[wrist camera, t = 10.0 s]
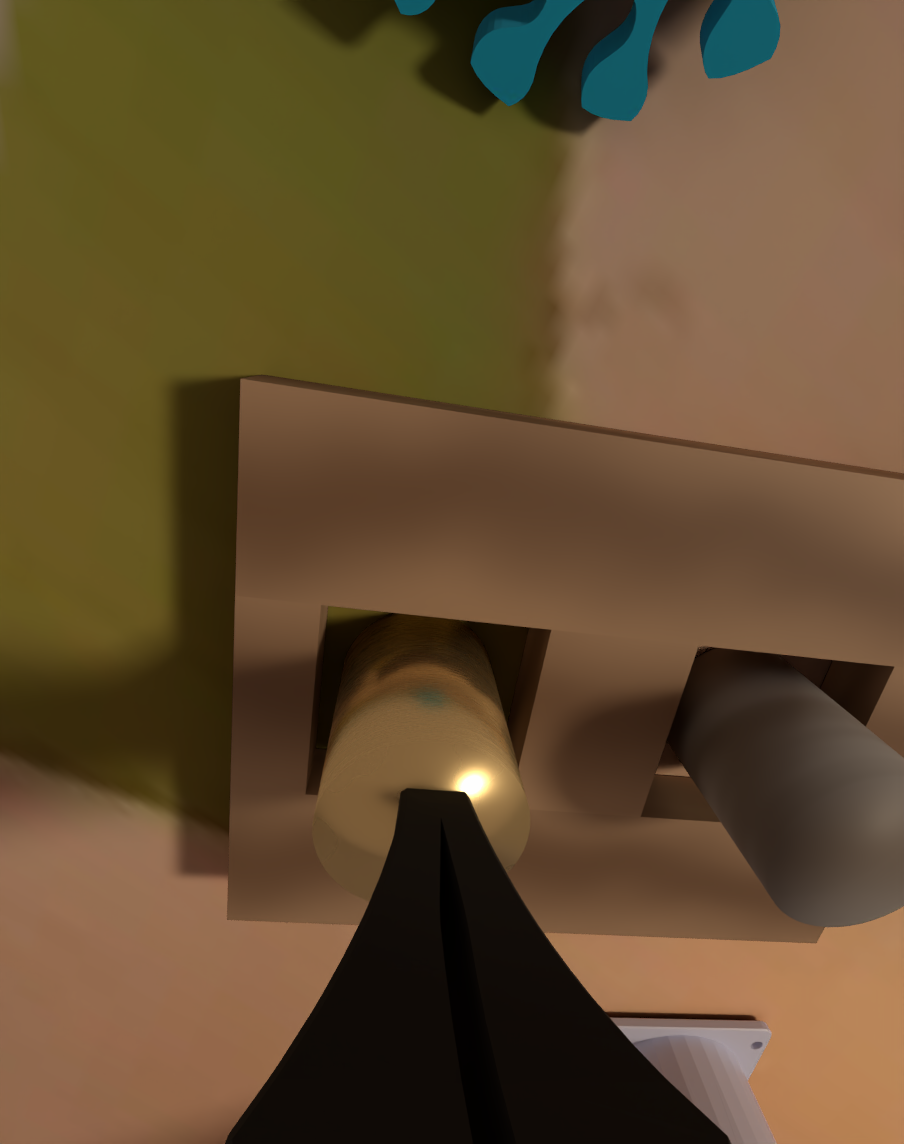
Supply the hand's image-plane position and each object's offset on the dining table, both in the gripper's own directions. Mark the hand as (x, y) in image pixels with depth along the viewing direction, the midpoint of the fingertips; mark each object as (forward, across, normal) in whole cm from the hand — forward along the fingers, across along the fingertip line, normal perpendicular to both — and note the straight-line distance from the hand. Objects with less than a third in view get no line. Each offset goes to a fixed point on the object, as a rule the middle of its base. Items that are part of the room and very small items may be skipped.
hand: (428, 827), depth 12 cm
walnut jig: (+6, -5, 0) cm, 8 cm away
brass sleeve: (+6, 0, 0) cm, 6 cm away
